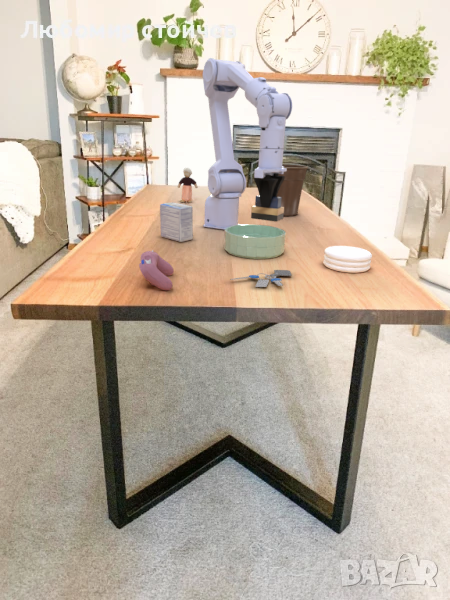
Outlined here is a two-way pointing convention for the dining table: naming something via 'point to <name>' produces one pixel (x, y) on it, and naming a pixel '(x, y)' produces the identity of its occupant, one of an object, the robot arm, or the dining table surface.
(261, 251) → the bowl
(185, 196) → the grandmother figurine
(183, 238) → the medicine box
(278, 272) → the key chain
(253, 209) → the brush
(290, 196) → the plant pot
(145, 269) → the pink curved piece
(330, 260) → the white round stacked piece
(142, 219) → the dining table surface
